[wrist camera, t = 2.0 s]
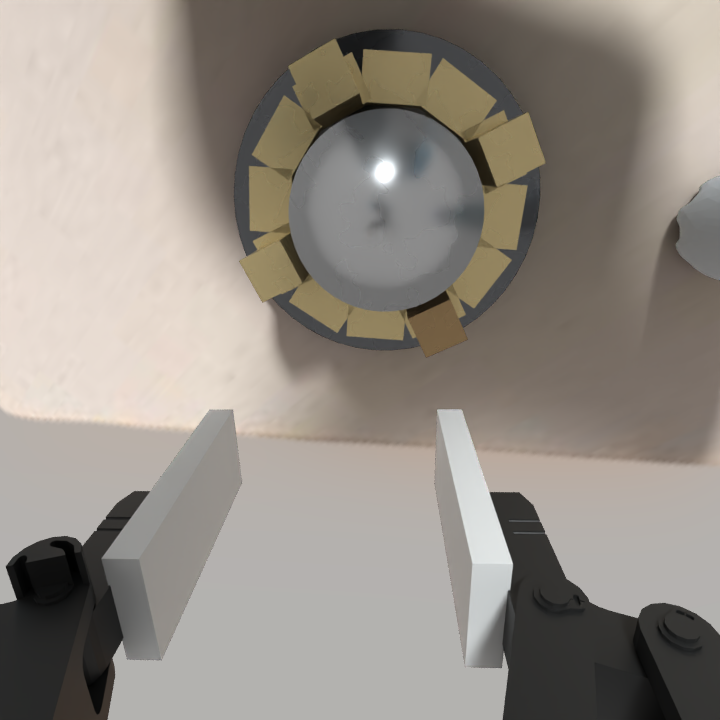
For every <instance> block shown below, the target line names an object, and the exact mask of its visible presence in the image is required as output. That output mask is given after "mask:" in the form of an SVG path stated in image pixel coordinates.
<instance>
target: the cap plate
mask: <svg viewBox="0 0 720 720" xmlns="http://www.w3.org/2000/svg"><path fill="white" fill-rule="evenodd" d="M336 41H337V43H338V45H339V48H340V50H341V52H342V54H343V57H344V56H346V55H347V54H349V53H351V52H352V54H353V56H354V58H355V61H356V63H357V65H358V68H359V70H360V72H361V74H362V64H363V49H368V50H383V51H398V52H413V53H429V54H432V58H431V68H430V78H431V76H432V75H433V73H434V72H435V70H436V68H437V67H438V65H439V64H440V62H441V61H442V59H443V58H444V59H445V60H446V61H448V62H449V63H450V64H451V65H453V66H454V67H455V68H456V69H458V70H459V71H460V72H462V73H463V74H464V75H465V76H467V77H468V78H469V79H470V80H472V81H473V82H474V83H476V84H477V85H478V86H479V87H481V88H482V89H483V90H484V91H486V92H487V93H488V94H490V95H491V96H492V97H493V98H495V99H496V100H497V101H496V103H495V104H494V106H493V107H492V108H491V110H490V111H489V113H488V114H487V116H486V117H485V119H484V120H486V119H488V118H490V117H491V116H493V115H495V114H497V113H499V112H501V111H503V110H504V112H505V114H506V117H507V120H510V119H512V118H515V117H517V116H520V115H522V114H523V112H522V111H521V109H520V107H519V106H518V104H517V102H516V101H515V99H514V97H513V96H512V94H511V93H510V91H509V90H508V89H507V88H506V86H505V85H504V84H503V83H502V82H501V80H500V79H499V78H498V77H497V76H496V75H495V74H494V73H493V72H492V71H491V70H490V69H489V68H488V67H487V66H486V65H484V64H483V63H482V62H481V61H480V60H478V59H477V58H475V57H474V56H472V55H471V54H470V53H468V52H467V51H465V50H464V49H462V48H460V47H458V46H456V45H454V44H452V43H450V42H447V41H445V40H443V39H440V38H437V37H434V36H431V35H427V34H424V33H420V32H413V31H406V30H399V29H398V30H372V31H366V32H360V33H354V34H351V35H348V36H345V37H342V38H339V39H336ZM317 49H318V48H317ZM315 50H316V49H315ZM313 51H314V50H313ZM313 51H312V52H313ZM310 53H311V52H310ZM307 55H308V54H307ZM430 78H429V79H430ZM294 85H296V82H295V80H294V78H293V76H292V74H291V72H290V70H289V69H288V70H287V71H286V72H285V73H284V74H283V75H282V76H280V77H279V78H278V80H277V81H276V82H275V83H274V85H273V86H272V87H271V88H270V89H269V91H268V92H267V93H266V94H265V96H264V97H263V99H262V101H261V102H260V104H259V105H258V107H257V109H256V110H255V112H254V114H253V116H252V118H251V120H250V122H249V125H248V127H247V129H246V131H245V134H244V137H243V140H242V144H241V147H240V150H239V154H238V159H237V165H236V171H235V183H234V202H235V214H236V220H237V225H238V230H239V235H240V238H241V241H242V244H243V247H244V250H245V253H246V256H248V255H250V254H251V253H253V252H255V251H256V250H257V248H256V246H255V245H254V243H253V241H254V240H256V239H258V238H260V237H261V236H263V235H265V234H267V233H269V232H261V231H250V206H249V166H259V167H269V166H267V165H266V164H264V163H263V162H261V161H260V160H258V159H257V158H256V157H254V156H253V155H252V153H253V151H254V150H255V148H256V146H257V144H258V142H259V140H260V139H261V137H262V135H263V133H264V131H265V129H266V127H267V126H268V124H269V122H270V120H271V118H272V116H273V115H274V113H275V111H276V109H277V107H278V105H279V103H280V102H281V100H282V98H283V96H286V97H287V98H289V99H290V100H291V101H293V102H294V103H296V104H297V105H298V106H300V107H301V108H302V106H301V104H300V102H299V100H298V98H297V96H296V94H295V91H294V89H293V87H292V86H294ZM302 109H303V108H302ZM484 120H483V121H484ZM507 184H515V185H528V187H527V193H526V198H525V204H524V210H523V215H522V221H521V227H520V233H519V238H518V244H517V250H510V249H497V250H499V251H500V252H502V253H503V254H504V255H506V256H507V257H509V258H510V259H511V260H512V261H511V262H510V263H509V264H508V266H507V267H506V268H505V270H504V271H503V272H502V273H501V275H500V276H499V277H498V279H497V280H496V281H495V282H494V284H493V285H492V286H491V288H490V289H489V290H488V291H487V293H486V294H485V295H484V296H483V298H482V299H481V300H480V302H479V303H478V304H477V305H476V307H475V308H472V307H471V306H470V305H468V304H467V303H465V302H464V301H462V300H461V299H459V300H460V303H461V305H462V307H463V309H464V312H465V314H466V315H465V316H462V317H460V318H459V320H460V323H461V325H462V327H465V326H466V325H468V324H469V323H471V322H472V321H474V320H475V319H477V318H478V317H479V316H480V315H481V314H482V313H484V312H485V311H486V310H487V309H488V308H489V307H490V306H491V305H492V304H493V303H494V302H495V301H496V300H497V299H498V298H499V297H500V295H501V294H502V293H503V292H504V291H505V289H506V288H507V287H508V285H509V284H510V282H511V281H512V279H513V278H514V277H515V275H516V273H517V271H518V270H519V268H520V266H521V264H522V262H523V260H524V258H525V256H526V253H527V251H528V248H529V246H530V243H531V240H532V238H533V234H534V230H535V226H536V222H537V218H538V209H539V201H540V173H539V167H537V168H535V169H533V170H531V171H529V172H527V174H526V175H524V176H522V177H520V178H518V179H516V180H514V181H512V182H509V183H507ZM483 222H484V195H483V189H482V184H481V180H480V177H479V174H478V171H477V169H476V167H475V164H474V162H473V160H472V158H471V157H470V155H469V154H468V152H467V150H466V149H465V147H464V146H463V145H462V143H461V141H460V139H459V138H457V137H456V136H455V135H453V134H452V133H451V132H450V131H448V130H447V129H446V128H445V127H443V126H442V125H440V124H439V123H437V122H436V121H435V120H433V119H432V118H431V117H429V116H428V115H427V114H425V113H424V112H423V111H422V110H420V109H419V108H404V107H390V106H375V105H366V106H364V107H363V108H361V109H359V110H357V111H355V112H354V113H352V114H350V115H348V116H346V117H345V118H343V119H341V120H339V121H337V122H336V123H334V124H332V125H330V126H328V127H327V128H325V129H323V130H321V132H320V134H319V136H318V137H317V139H316V141H315V142H314V144H313V145H312V146H311V147H310V148H309V150H308V151H307V153H306V154H305V156H304V157H303V159H302V161H301V163H300V165H299V167H298V169H297V171H296V174H295V177H294V180H293V183H292V187H291V192H290V197H289V225H290V231H291V236H292V240H293V243H294V246H295V249H296V251H297V253H298V256H299V258H300V260H301V262H302V263H303V265H304V267H305V268H306V270H307V271H308V273H309V274H310V275H311V276H312V278H313V279H314V280H315V281H316V282H317V283H318V284H319V285H320V286H321V287H322V288H323V289H324V290H326V291H327V292H328V293H330V294H331V295H332V296H334V297H336V298H337V299H339V300H341V301H343V302H345V303H347V304H349V305H352V306H354V307H358V308H361V309H365V310H371V311H386V312H390V311H399V310H405V309H409V308H413V307H416V306H418V305H421V304H423V303H426V302H428V301H429V300H431V299H433V298H435V297H437V296H438V295H439V294H441V293H442V292H444V291H445V290H446V289H447V288H449V287H450V286H451V285H452V284H453V283H454V282H455V281H456V280H457V279H458V278H459V276H460V275H461V274H462V273H463V272H464V270H465V269H466V267H467V266H468V264H469V263H470V261H471V259H472V257H473V255H474V253H475V251H476V249H477V246H478V243H479V240H480V237H481V233H482V228H483ZM298 287H299V286H298ZM298 287H296V288H294V289H292V290H290V291H288V292H286V293H284V294H279V295H277V296H275V297H273V299H274V300H275V301H276V303H277V304H278V305H279V306H280V307H281V308H283V309H284V310H285V311H286V312H287V313H288V314H289V315H290V316H291V317H293V318H294V319H295V320H297V321H298V322H299V323H301V324H302V325H303V326H305V327H306V328H308V329H310V330H312V331H314V332H315V333H317V334H319V335H321V336H323V337H325V338H328V339H330V340H333V341H335V342H338V343H341V344H345V345H349V346H352V347H356V348H363V349H371V350H398V349H407V348H412V347H417V346H420V344H419V341H418V339H417V337H415V338H412V336H411V334H410V332H409V330H408V328H407V326H406V324H405V326H404V335H403V340H392V339H378V338H365V337H352V336H347V320H348V318H347V320H346V321H345V322H344V324H343V325H342V327H341V328H340V330H339V331H338V333H337V332H335V331H333V330H332V329H330V328H329V327H327V326H326V325H324V324H323V323H321V322H319V321H318V320H316V319H315V318H313V317H312V316H310V315H309V314H307V313H306V312H304V311H302V310H301V309H299V308H298V307H296V306H295V305H293V304H292V303H290V302H289V301H290V299H291V298H292V296H293V294H294V293H295V291H296V290H297V288H298Z"/></svg>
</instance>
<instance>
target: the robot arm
mask: <svg viewBox="0 0 720 720" xmlns="http://www.w3.org/2000/svg"><path fill="white" fill-rule="evenodd" d="M241 484H242V480H241V471H240V462H239V455H238V446H237V438H236V430H235V422H234V414H233V410H209V411H208V413H207V414H206V415H205V417H204V418H203V419H202V421H201V422H200V424H199V425H198V426H197V428H196V429H195V430H194V432H193V433H192V435H191V436H190V437H189V439H188V440H187V441H186V443H185V444H184V446H183V447H182V448H181V450H180V451H179V452H178V454H177V455H176V457H175V458H174V460H173V461H172V462H171V464H170V465H169V466H168V468H167V469H166V470H165V472H164V473H163V475H162V476H161V477H160V479H159V480H158V481H157V483H156V484H155V485H154V487H153V488H152V490H151V491H134V492H132V493H131V494H130V495H128V496H127V497H125V498H124V499H122V500H121V501H119V502H118V503H117V504H116V505H115V506H114V508H113V509H112V510H111V511H110V513H109V514H108V515H107V516H106V520H103V521H102V523H101V524H100V525H99V526H98V528H97V531H94V533H93V534H92V535H91V537H90V538H89V539H88V540H87V541H86V543H85V544H84V545H83V546H82V545H81V543H80V542H79V541H78V540H77V539H76V538H72V537H68V536H61V537H52V538H48V539H45V540H42V541H39V542H36V543H34V544H32V545H30V546H28V547H26V548H25V549H23V550H22V551H21V552H19V553H18V554H17V555H15V556H14V557H13V558H12V559H11V560H10V562H9V563H8V565H7V566H6V569H7V572H8V575H9V577H10V580H11V584H12V586H13V589H14V592H15V595H16V598H17V600H16V601H13V602H9V603H5V604H0V720H107V719H108V713H109V708H110V701H111V696H112V690H113V684H114V679H115V668H114V663H113V659H112V657H113V656H114V654H115V652H116V650H117V648H118V647H119V645H120V643H121V641H123V645H124V649H125V653H126V657H127V659H130V660H131V659H132V660H162V658H163V656H164V654H165V651H166V649H167V647H168V645H169V642H170V641H171V638H172V636H173V634H174V632H175V629H176V627H177V625H178V623H179V621H180V619H181V616H182V614H183V612H184V610H185V607H186V605H187V603H188V601H189V599H190V596H191V594H192V592H193V589H194V587H195V585H196V583H197V581H198V579H199V577H200V574H201V572H202V570H203V568H204V565H205V563H206V561H207V559H208V557H209V554H210V552H211V550H212V547H213V545H214V543H215V541H216V539H217V536H218V535H219V532H220V530H221V528H222V526H223V523H224V521H225V518H226V517H227V515H228V512H229V510H230V508H231V506H232V503H233V501H234V499H235V497H236V495H237V492H238V490H239V488H240V486H241ZM435 489H436V494H437V501H438V507H439V513H440V518H441V525H442V531H443V537H444V543H445V549H446V555H447V561H448V567H449V573H450V579H451V585H452V591H453V597H454V603H455V609H456V615H457V621H458V627H459V634H460V640H461V645H462V652H463V658H464V664H465V667H479V668H502V661H503V653H505V657H506V661H507V665H508V669H509V671H508V680H507V689H506V696H505V705H504V713H503V720H720V635H719V634H718V633H717V631H716V630H715V629H714V628H713V627H712V626H711V624H709V623H708V622H706V621H705V620H704V619H702V618H701V617H700V616H698V615H697V614H695V613H693V612H691V611H689V610H687V609H684V608H682V607H680V606H676V605H671V604H666V603H658V604H650V605H649V606H647V607H645V608H643V609H642V610H641V613H640V615H639V617H638V618H635V617H631V616H627V615H624V614H619V613H616V612H612V611H609V610H606V609H603V608H600V607H598V606H596V605H594V604H592V603H590V602H589V599H588V597H587V596H586V595H585V594H584V593H583V591H582V590H581V589H580V588H579V587H578V586H576V585H575V584H573V583H571V582H570V581H569V580H567V579H566V577H565V575H564V573H563V570H562V568H561V566H560V564H559V562H558V560H557V557H556V555H555V553H554V550H553V548H552V546H551V544H550V542H549V540H548V537H547V535H545V530H544V528H543V526H542V524H541V522H540V520H539V517H538V515H537V513H536V510H535V508H534V506H533V505H532V504H531V503H530V502H529V501H528V500H527V499H526V498H525V497H524V496H522V495H521V494H520V493H519V492H518V493H515V492H513V493H512V492H511V493H510V492H505V493H504V492H489V490H488V487H487V484H486V481H485V478H484V475H483V472H482V469H481V466H480V463H479V460H478V457H477V454H476V451H475V448H474V445H473V442H472V439H471V436H470V433H469V430H468V427H467V424H466V421H465V418H464V415H463V412H462V409H437V430H436V458H435Z"/></svg>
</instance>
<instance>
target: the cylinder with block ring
mask: <svg viewBox="0 0 720 720" xmlns="http://www.w3.org/2000/svg"><path fill="white" fill-rule="evenodd" d="M431 58H432V54H429V53H413V52H398V51H383V50H368V49H363V64H362V74H361V72H360V70H359V68H358V65H357V63H356V61H355V58H354V56H353V54H352V52H351V53H349V54H347V55H346V56H344V57H343V54H342V52H341V50H340V48H339V45H338V43H337V41H336V39H333V40H331V41H330V42H328V43H326V44H324V45H323V46H321V47H319V48H318V49H316V50H314V51H313V52H311V53H309V54H308V55H306V56H304V57H302V58H301V59H299V60H297V61H296V62H294V63H292V64H291V65H289V66H288V68H289V70H290V72H291V74H292V76H293V78H294V80H295V82H296V85H294V86H292V87H293V89H294V91H295V94H296V96H297V98H298V100H299V102H300V104H301V106H302V108H303V109H302V108H301V107H300V106H298V105H297V104H296V103H294V102H293V101H291V100H290V99H289V98H287V97H286V96H283V98H282V100H281V102H280V103H279V105H278V107H277V109H276V111H275V113H274V115H273V116H272V118H271V120H270V122H269V124H268V126H267V127H266V129H265V131H264V133H263V135H262V137H261V139H260V140H259V142H258V144H257V146H256V148H255V150H254V151H253V153H252V155H253V156H254V157H256V158H257V159H258V160H260V161H261V162H263V163H264V164H266V165H267V166H269V167H259V166H249V206H250V231H261V232H269V233H267V234H265V235H263V236H261V237H260V238H258V239H256V240H254V241H253V243H254V245H255V246H256V248H257V250H256V251H255V252H253V253H251V254H250V255H248V256H247V257H245V258H243V259H242V260H240V261H239V262H240V264H241V266H242V267H243V269H244V271H245V273H246V274H247V276H248V278H249V280H250V281H251V283H252V285H253V287H254V288H255V290H256V292H257V294H258V295H259V297H260V299H261V301H262V303H263V302H265V301H267V300H269V299H271V298H273V297H275V296H277V295H279V294H284V293H286V292H288V291H290V290H292V289H294V288H296V287H298V286H299V287H298V288H297V290H296V291H295V293H294V294H293V296H292V298H291V299H290V301H289V302H290V303H292V304H293V305H295V306H296V307H298V308H299V309H301V310H302V311H304V312H306V313H307V314H309V315H310V316H312V317H313V318H315V319H316V320H318V321H319V322H321V323H323V324H324V325H326V326H327V327H329V328H330V329H332V330H333V331H335V332H337V333H338V331H339V330H340V328H341V327H342V325H343V324H344V322H345V321H346V320H347V318H348V320H347V336H352V337H365V338H378V339H392V340H403V335H404V326H405V324H406V326H407V328H408V330H409V332H410V334H411V336H412V338H415V337H417V339H418V341H419V344H420V346H421V348H422V350H423V352H424V354H425V356H426V358H427V357H429V356H431V355H433V354H436V353H438V352H440V351H443V350H445V349H447V348H450V347H452V346H454V345H456V344H459V343H461V342H463V341H466V340H468V339H467V336H466V334H465V332H464V329H463V327H462V325H461V323H460V320H459V318H460V317H462V316H465V315H466V314H465V312H464V309H463V307H462V305H461V303H460V300H459V299H461V300H462V301H464V302H465V303H467V304H468V305H470V306H471V307H472V308H475V307H476V305H477V304H478V303H479V302H480V300H481V299H482V298H483V296H484V295H485V294H486V293H487V291H488V290H489V289H490V288H491V286H492V285H493V284H494V282H495V281H496V280H497V279H498V277H499V276H500V275H501V273H502V272H503V271H504V270H505V268H506V267H507V266H508V264H509V263H510V262H511V261H512V260H511V259H510V258H509V257H507V256H506V255H504V254H503V253H502V252H500V251H499V250H497V249H510V250H517V244H518V238H519V233H520V227H521V221H522V215H523V210H524V204H525V198H526V193H527V187H528V185H515V184H507V183H509V182H512V181H514V180H516V179H518V178H520V177H522V176H524V175H526V174H527V172H529V171H531V170H533V169H535V168H537V167H539V166H541V165H543V164H545V163H546V162H545V159H544V156H543V153H542V150H541V147H540V145H539V142H538V139H537V136H536V133H535V130H534V127H533V124H532V121H531V118H530V115H529V113H528V112H527V113H525V114H522V115H520V116H517V117H515V118H512V119H510V120H507V117H506V114H505V112H504V110H503V111H501V112H499V113H497V114H495V115H493V116H491V117H490V118H488V119H486V120H484V119H485V117H486V116H487V114H488V113H489V111H490V110H491V108H492V107H493V106H494V104H495V103H496V101H497V100H496V99H495V98H493V97H492V96H491V95H490V94H488V93H487V92H486V91H484V90H483V89H482V88H481V87H479V86H478V85H477V84H476V83H474V82H473V81H472V80H470V79H469V78H468V77H467V76H465V75H464V74H463V73H462V72H460V71H459V70H458V69H456V68H455V67H454V66H453V65H451V64H450V63H449V62H448V61H446V60H445V59H444V58H443V59H442V61H441V62H440V64H439V65H438V67H437V68H436V70H435V72H434V73H433V75H432V76H431V78H430V68H431ZM429 78H430V79H429ZM366 105H375V106H390V107H404V108H419V109H420V110H422V111H423V112H424V113H425V114H427V115H428V116H429V117H431V118H432V119H433V120H435V121H436V122H437V123H439V124H440V125H442V126H443V127H445V128H446V129H447V130H448V131H450V132H451V133H452V134H453V135H455V136H456V137H457V138H459V139H460V141H461V143H462V145H463V146H464V147H465V149H466V150H467V152H468V154H469V155H470V157H471V158H472V160H473V162H474V164H475V167H476V169H477V171H478V174H479V177H480V180H481V184H482V189H483V195H484V222H483V228H482V233H481V237H480V240H479V243H478V246H477V249H476V251H475V253H474V255H473V257H472V259H471V261H470V263H469V264H468V266H467V267H466V269H465V270H464V272H463V273H462V274H461V275H460V276H459V278H458V279H457V280H456V281H455V282H454V283H453V284H452V285H451V286H450V287H449V288H447V289H446V290H445V291H444V292H442V293H441V294H439V295H438V296H437V297H435V298H433V299H431V300H429V301H428V302H426V303H423V304H421V305H418V306H416V307H413V308H409V309H405V310H399V311H390V312H386V311H371V310H365V309H361V308H358V307H354V306H352V305H349V304H347V303H345V302H343V301H341V300H339V299H337V298H336V297H334V296H332V295H331V294H330V293H328V292H327V291H326V290H324V289H323V288H322V287H321V286H320V285H319V284H318V283H317V282H316V281H315V280H314V279H313V278H312V276H311V275H310V274H309V273H308V271H307V270H306V268H305V267H304V265H303V263H302V262H301V260H300V258H299V256H298V253H297V251H296V249H295V246H294V243H293V240H292V236H291V231H290V225H289V197H290V192H291V187H292V183H293V180H294V177H295V174H296V171H297V169H298V167H299V165H300V163H301V161H302V159H303V157H304V156H305V154H306V153H307V151H308V150H309V148H310V147H311V146H312V145H313V144H314V142H315V141H316V139H317V137H318V136H319V134H320V132H321V130H323V129H325V128H327V127H328V126H330V125H332V124H334V123H336V122H337V121H339V120H341V119H343V118H345V117H346V116H348V115H350V114H352V113H354V112H355V111H357V110H359V109H361V108H363V107H364V106H366ZM483 120H484V121H483Z"/></svg>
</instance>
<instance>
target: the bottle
mask: <svg viewBox="0 0 720 720" xmlns="http://www.w3.org/2000/svg"><path fill="white" fill-rule="evenodd" d="M677 222H678V224H679V227H680V239H679V240H678V241H677V243H676V249H677V251H678V253H679V254H680V255H681V257H682V258H684V259H685V260H686V261H687V262H688V263H689V264H690V265H692V266H693V267H694V268H695V269H696V270H698V271H699V272H701V273H702V274H704V275H706V276H708V277H710V278H713V279H716V280H720V176H717V177H714V178H713V179H711V180H709V181H707V182H705V183H704V184H703V185H701V187H700V188H699V193H698V194H697V195H696V196H695V198H694V199H693V200H692V201H691V202H690V203H689V204H687V205H686V206H684V207H682V208H681V209H680V210H679V212H678V215H677Z"/></svg>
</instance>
